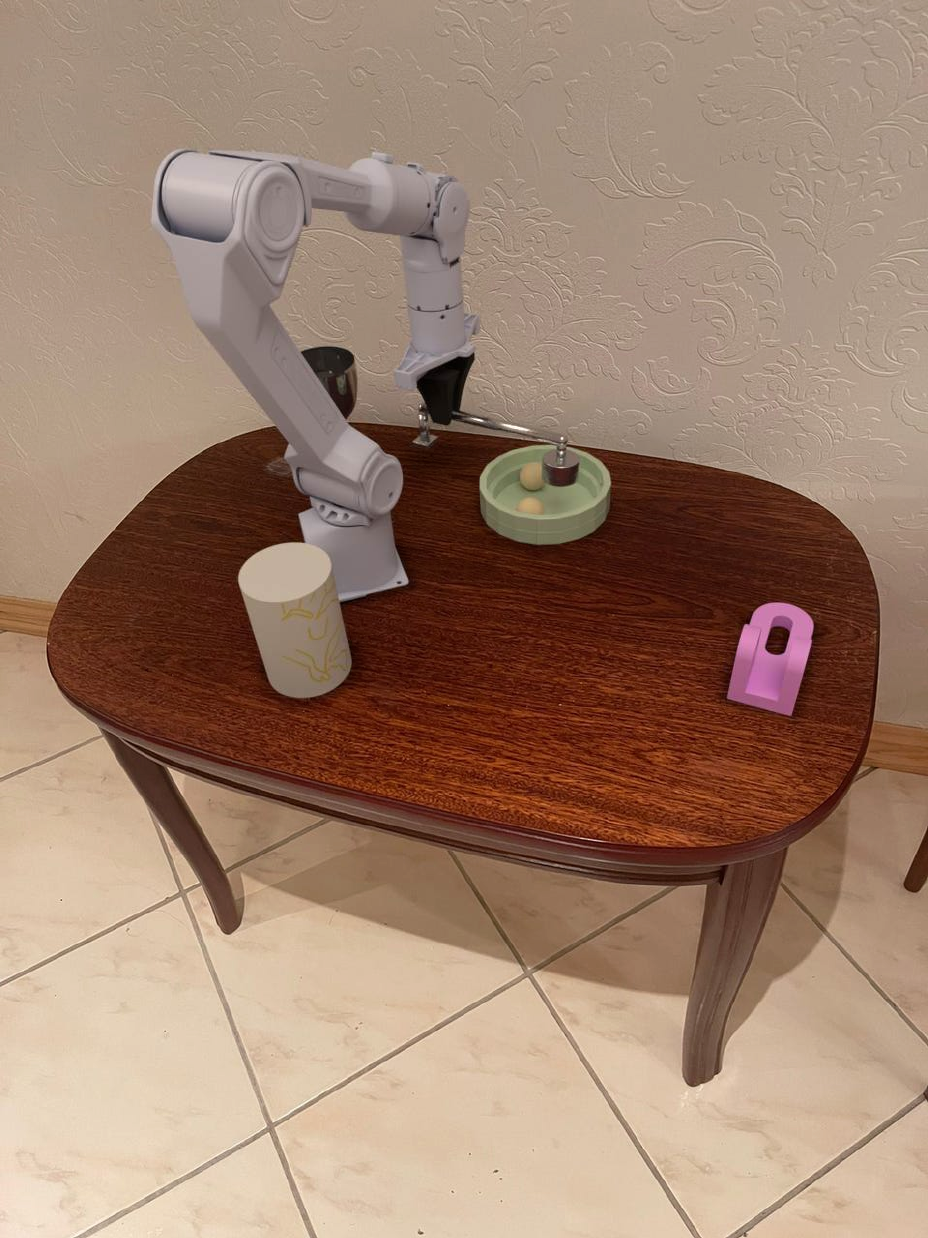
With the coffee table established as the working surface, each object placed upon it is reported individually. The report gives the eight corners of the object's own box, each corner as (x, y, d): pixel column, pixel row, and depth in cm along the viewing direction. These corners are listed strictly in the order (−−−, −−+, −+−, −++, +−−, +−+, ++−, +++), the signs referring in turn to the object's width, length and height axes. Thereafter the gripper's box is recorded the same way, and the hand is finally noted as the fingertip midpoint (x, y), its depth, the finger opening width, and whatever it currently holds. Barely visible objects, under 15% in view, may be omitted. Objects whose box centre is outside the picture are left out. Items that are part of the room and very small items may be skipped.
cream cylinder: (310, 710, 81) (283, 614, 73) (250, 675, 85) (218, 580, 77) (368, 658, 86) (350, 562, 78) (309, 626, 90) (285, 531, 82)
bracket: (791, 716, 77) (807, 660, 73) (726, 698, 79) (738, 643, 75) (814, 621, 86) (830, 565, 81) (756, 607, 88) (768, 552, 83)
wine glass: (303, 464, 112) (279, 354, 102) (364, 451, 114) (346, 340, 103) (314, 498, 106) (290, 385, 96) (379, 484, 108) (361, 370, 98)
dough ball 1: (525, 498, 103) (524, 474, 101) (516, 483, 105) (515, 460, 103) (551, 492, 104) (551, 468, 101) (541, 477, 106) (541, 454, 104)
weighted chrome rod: (584, 473, 96) (587, 430, 93) (569, 490, 94) (571, 447, 90) (427, 434, 104) (424, 393, 101) (408, 449, 101) (405, 408, 98)
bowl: (504, 560, 96) (503, 531, 93) (466, 488, 106) (464, 459, 103) (629, 530, 98) (632, 501, 95) (580, 463, 109) (581, 434, 106)
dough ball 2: (521, 535, 98) (520, 511, 96) (512, 518, 100) (511, 495, 98) (548, 528, 98) (548, 505, 96) (538, 512, 101) (538, 489, 99)
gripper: (432, 336, 84) (443, 459, 93) (502, 278, 93) (506, 395, 102) (370, 324, 86) (387, 445, 96) (444, 269, 95) (453, 384, 105)
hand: (445, 418), depth 99 cm, fingers closed on weighted chrome rod
